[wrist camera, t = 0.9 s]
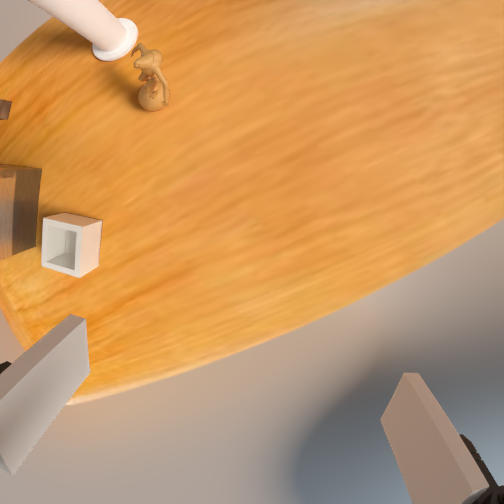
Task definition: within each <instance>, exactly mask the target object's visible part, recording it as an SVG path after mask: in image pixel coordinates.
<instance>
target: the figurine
mask: <svg viewBox="0 0 504 504" xmlns="http://www.w3.org/2000/svg"><path fill="white" fill-rule="evenodd" d="M138 50H140V51H141V57H140V58H138V59H137V60H136V61H135V62H134V68H136V69H141V70H142V73H141V75H140V76H139V80H140V81H147V83H146V84H145V85H143V86H142V88H141V89H140V91H139V94H138V100H139V103H140V105H141V106H142V107H143V108H144V109H145V110H147V111H152V112H154V111H159V110H161V109H163V108H164V107H166V105H167V106H168V102H169V99H170V90H169V88H168V82H167V80H166V78H165V76H164V74H163V73H162V71H161V68H160V66H161V64H162V61H163V56H162V54H161V52H159V51H158V50H148V49H146V48H145V46H144V45H143V44H141V43H140V44H138V45H137V47H135V48H134V49H133V51H132V55H133V53H134V52H136V51H138ZM132 55H131V57H132ZM160 81H161V82H160Z"/></svg>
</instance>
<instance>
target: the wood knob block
mask: <svg viewBox="0 0 504 504" xmlns="http://www.w3.org/2000/svg"><path fill="white" fill-rule="evenodd" d="M11 103H12V102H10V101H6V100H1V99H0V119H8V117H9V112H10V107H11Z"/></svg>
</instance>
